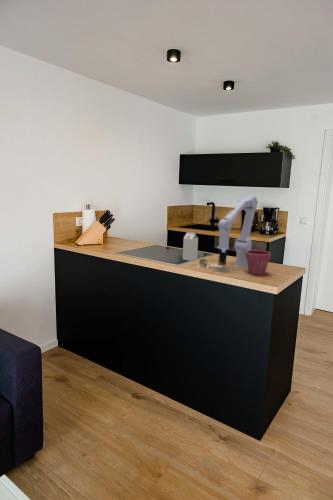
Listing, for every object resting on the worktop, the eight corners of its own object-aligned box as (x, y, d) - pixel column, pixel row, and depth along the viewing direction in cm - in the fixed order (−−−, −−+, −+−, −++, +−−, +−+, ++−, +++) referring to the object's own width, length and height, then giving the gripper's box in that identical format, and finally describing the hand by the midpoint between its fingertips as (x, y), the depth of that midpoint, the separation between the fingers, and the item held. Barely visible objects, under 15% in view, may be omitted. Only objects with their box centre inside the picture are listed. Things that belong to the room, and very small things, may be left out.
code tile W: (221, 265, 219) (221, 264, 219) (221, 267, 213) (221, 266, 212) (210, 264, 220) (210, 263, 220) (210, 266, 214) (210, 266, 214)
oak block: (206, 265, 215) (207, 257, 214) (206, 267, 210) (206, 259, 209) (199, 265, 215) (200, 257, 214) (199, 266, 211) (199, 259, 210)
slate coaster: (229, 268, 210) (229, 268, 210) (230, 272, 201) (230, 271, 201) (215, 267, 211) (215, 267, 211) (214, 271, 203) (214, 270, 202)
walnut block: (226, 263, 207) (226, 255, 206) (225, 265, 203) (226, 257, 202) (218, 263, 208) (218, 255, 207) (218, 265, 204) (218, 256, 203)
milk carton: (188, 258, 237) (189, 231, 233) (197, 259, 232) (198, 232, 229) (182, 259, 231) (183, 232, 228) (191, 261, 227) (192, 233, 223)
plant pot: (264, 270, 208) (266, 249, 206) (272, 276, 194) (274, 254, 192) (241, 270, 208) (243, 249, 205) (247, 276, 194) (249, 254, 191)
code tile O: (208, 266, 216) (208, 265, 216) (208, 268, 209) (208, 267, 209) (197, 265, 217) (197, 264, 217) (196, 267, 210) (196, 267, 210)
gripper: (217, 237, 210) (216, 259, 213) (217, 241, 196) (215, 264, 199) (229, 238, 209) (227, 259, 212) (229, 241, 195) (228, 265, 198)
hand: (222, 262), depth 205 cm, fingers closed on walnut block, 4 cm apart
